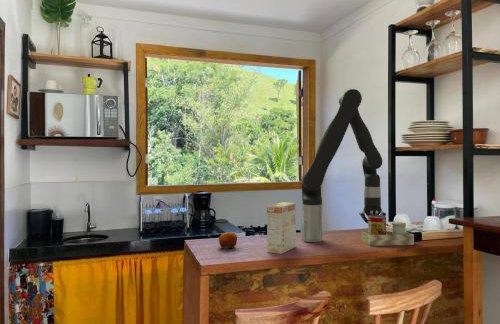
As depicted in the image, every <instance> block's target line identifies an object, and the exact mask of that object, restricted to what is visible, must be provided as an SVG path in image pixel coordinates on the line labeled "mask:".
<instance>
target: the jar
mask: <svg viewBox="0 0 500 324" xmlns="http://www.w3.org/2000/svg"><path fill="white" fill-rule="evenodd" d="M406 225H407V224H406V222H403V221H394V222H393V221H392V233H393V234H396V235H406V232H407V230H406V229H407V228H406Z"/></svg>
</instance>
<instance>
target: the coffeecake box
mask: <svg viewBox="0 0 500 324" xmlns="http://www.w3.org/2000/svg"><path fill="white" fill-rule="evenodd" d="M296 211H297V210H296V202H288V201H287V202H286V201H284V202H278V203H273V204H269V205H267V206H266V229H267V230H266V237H267V240H266V241H267V242H266V243H267V245H266V246H267V247H266V248H267V253H269V254H270V253H271V254H273V253H274V254H279V255H282V254H284V253H286V252H288V251H290V250H293V249H294V248H296V247H297V233H296V232H297V226H296V225H297V224H296V222H297V221H296V220H297V219H296V217H297V215H296V214H297V213H296Z"/></svg>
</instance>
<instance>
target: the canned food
mask: <svg viewBox="0 0 500 324" xmlns="http://www.w3.org/2000/svg"><path fill="white" fill-rule="evenodd" d="M367 219H368V223H367V232H368V233H367V234H369V235H386V231H387V217H386V216H383V215H380V214H379V215H371V216H370V215H369V216H367Z"/></svg>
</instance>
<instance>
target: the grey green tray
mask: <svg viewBox="0 0 500 324" xmlns="http://www.w3.org/2000/svg"><path fill="white" fill-rule="evenodd" d="M361 242H362V243H364V244H366V245H368V246H373V247H374V246H412V245H415V236H414V234H413V233H410V232H407V231H406V235H396V234H393V232H391V231H389V230H386V235H369V234H368V233H367V232H365V231H361Z"/></svg>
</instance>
